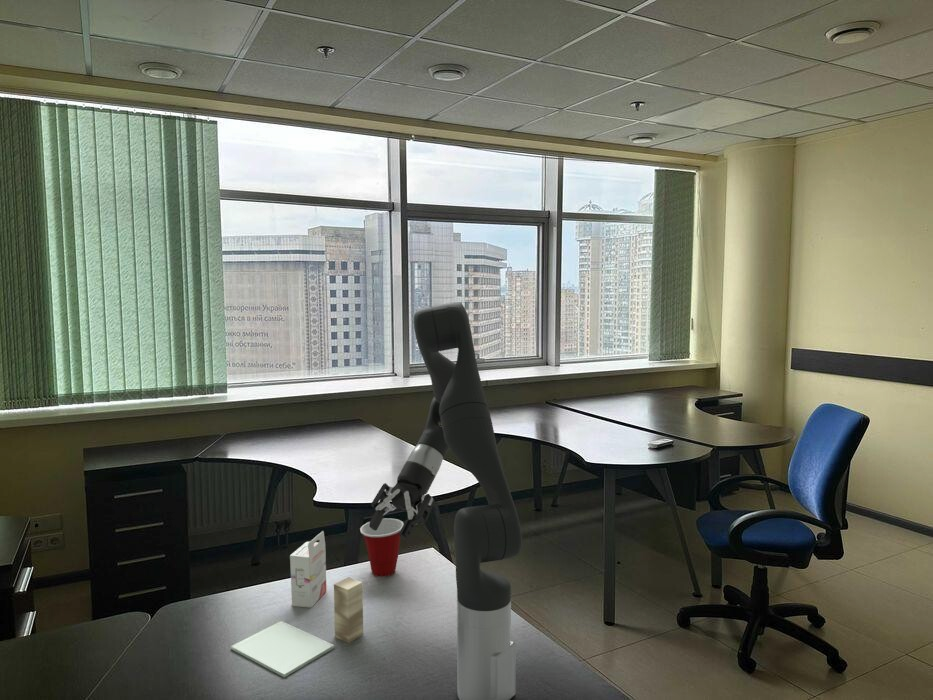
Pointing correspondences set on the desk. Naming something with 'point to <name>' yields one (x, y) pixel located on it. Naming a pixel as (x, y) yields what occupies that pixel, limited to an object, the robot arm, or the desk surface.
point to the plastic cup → (383, 546)
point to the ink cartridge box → (308, 572)
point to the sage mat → (282, 648)
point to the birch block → (348, 609)
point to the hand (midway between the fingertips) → (386, 533)
